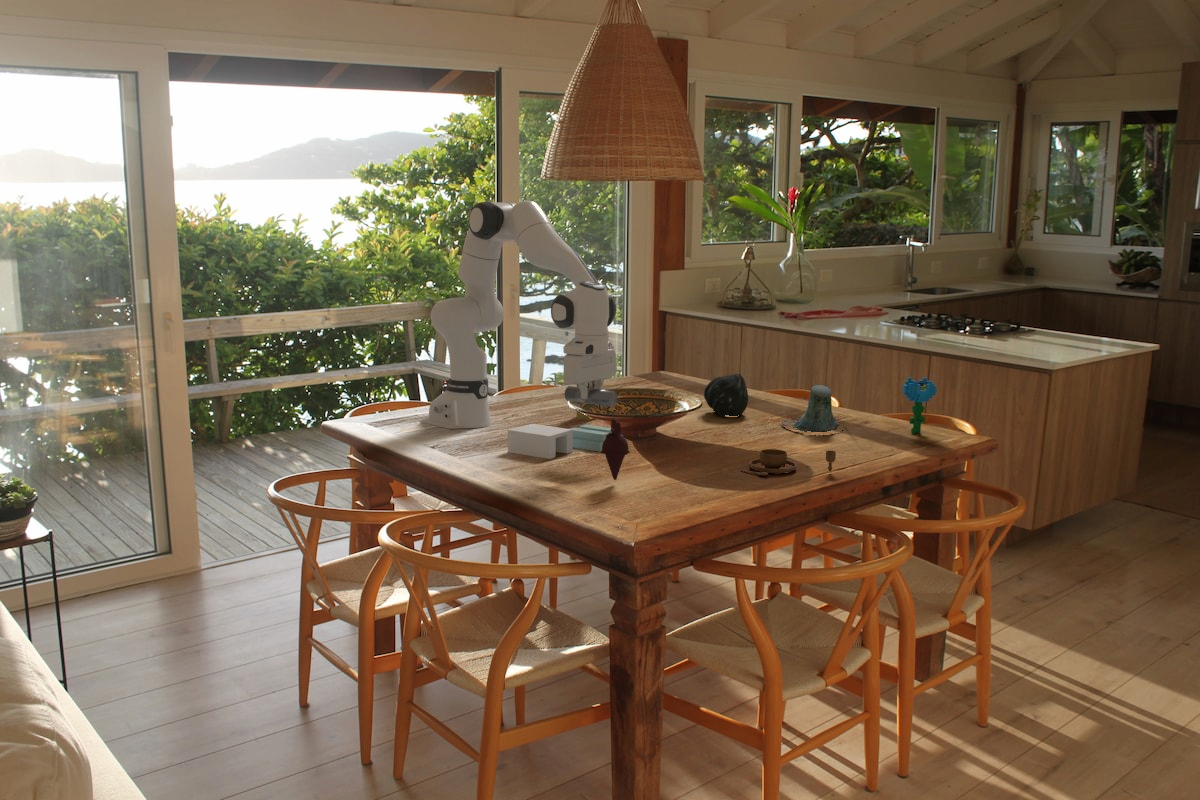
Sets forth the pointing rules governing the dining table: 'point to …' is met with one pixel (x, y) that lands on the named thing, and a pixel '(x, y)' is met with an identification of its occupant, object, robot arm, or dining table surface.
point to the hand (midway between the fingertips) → (591, 397)
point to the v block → (590, 437)
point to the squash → (727, 395)
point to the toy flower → (918, 399)
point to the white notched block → (540, 440)
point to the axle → (592, 396)
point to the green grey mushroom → (817, 412)
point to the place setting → (780, 461)
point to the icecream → (615, 448)
